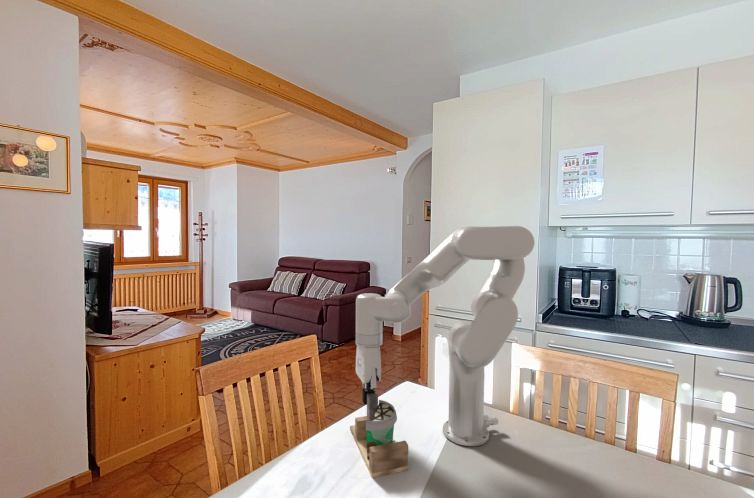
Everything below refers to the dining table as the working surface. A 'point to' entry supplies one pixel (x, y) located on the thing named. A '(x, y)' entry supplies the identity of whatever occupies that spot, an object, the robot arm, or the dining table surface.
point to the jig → (383, 456)
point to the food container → (381, 425)
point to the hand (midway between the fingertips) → (368, 402)
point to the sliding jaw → (361, 421)
